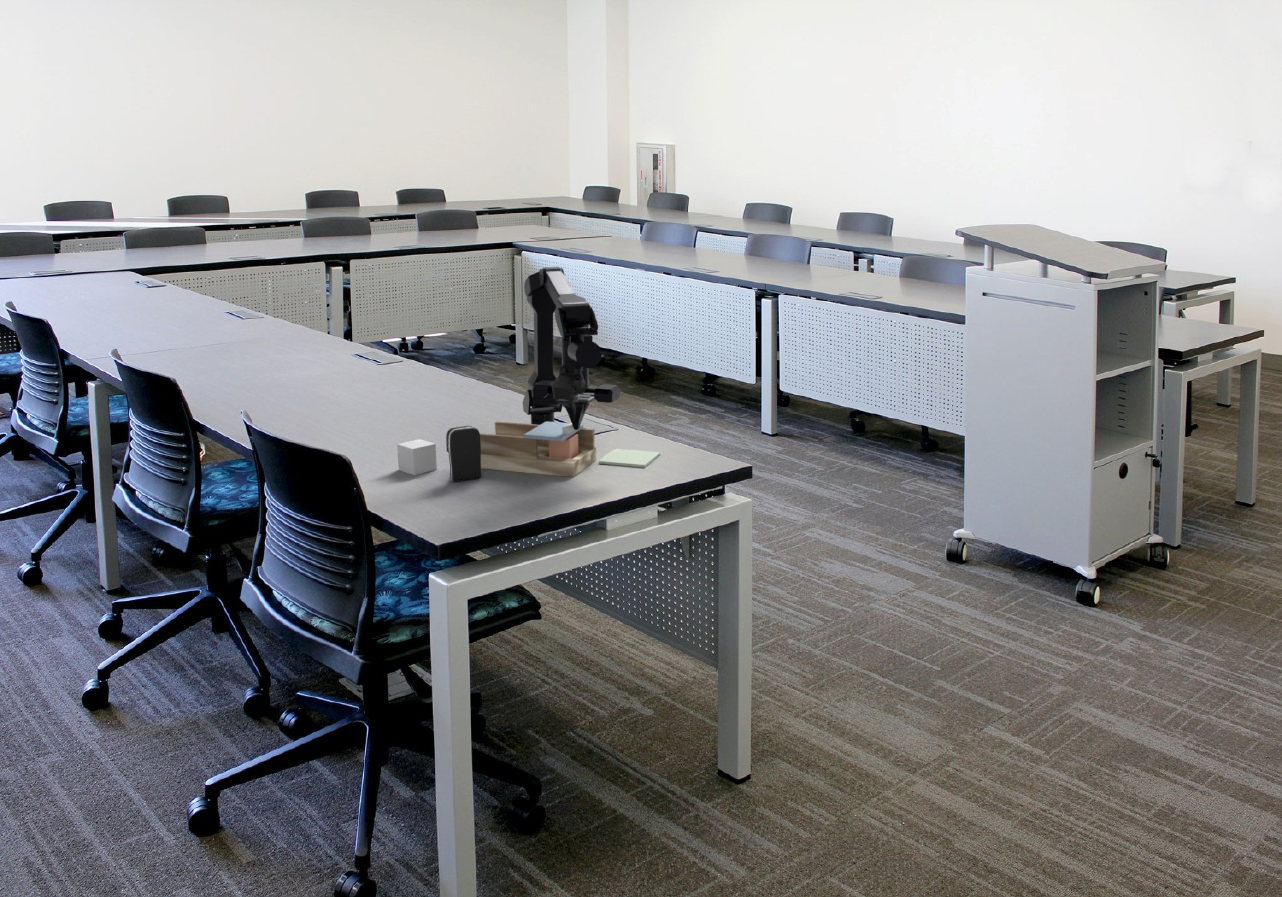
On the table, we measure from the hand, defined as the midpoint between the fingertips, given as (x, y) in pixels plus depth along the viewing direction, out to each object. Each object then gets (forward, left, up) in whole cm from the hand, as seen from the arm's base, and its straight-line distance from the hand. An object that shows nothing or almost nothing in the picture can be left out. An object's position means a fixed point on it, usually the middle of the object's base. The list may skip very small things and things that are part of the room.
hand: (576, 429), depth 258 cm
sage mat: (-10, +9, -9) cm, 16 cm away
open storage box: (0, -10, -9) cm, 13 cm away
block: (0, -3, -9) cm, 9 cm away
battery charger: (+15, -20, -9) cm, 27 cm away
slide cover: (0, -5, -1) cm, 5 cm away
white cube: (+12, -33, -9) cm, 36 cm away
